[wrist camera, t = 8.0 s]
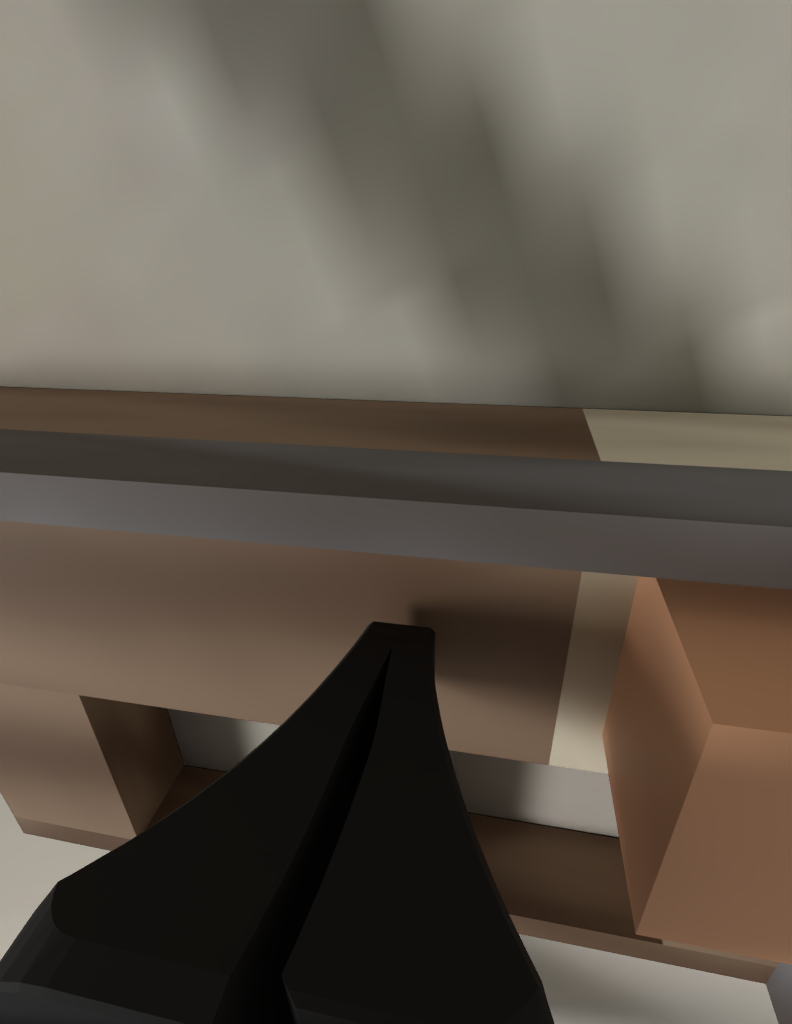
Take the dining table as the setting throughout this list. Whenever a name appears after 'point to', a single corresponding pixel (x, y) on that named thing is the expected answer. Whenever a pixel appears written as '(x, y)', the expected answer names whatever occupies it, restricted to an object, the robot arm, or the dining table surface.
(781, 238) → the dining table surface
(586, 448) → the deck
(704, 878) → the block
